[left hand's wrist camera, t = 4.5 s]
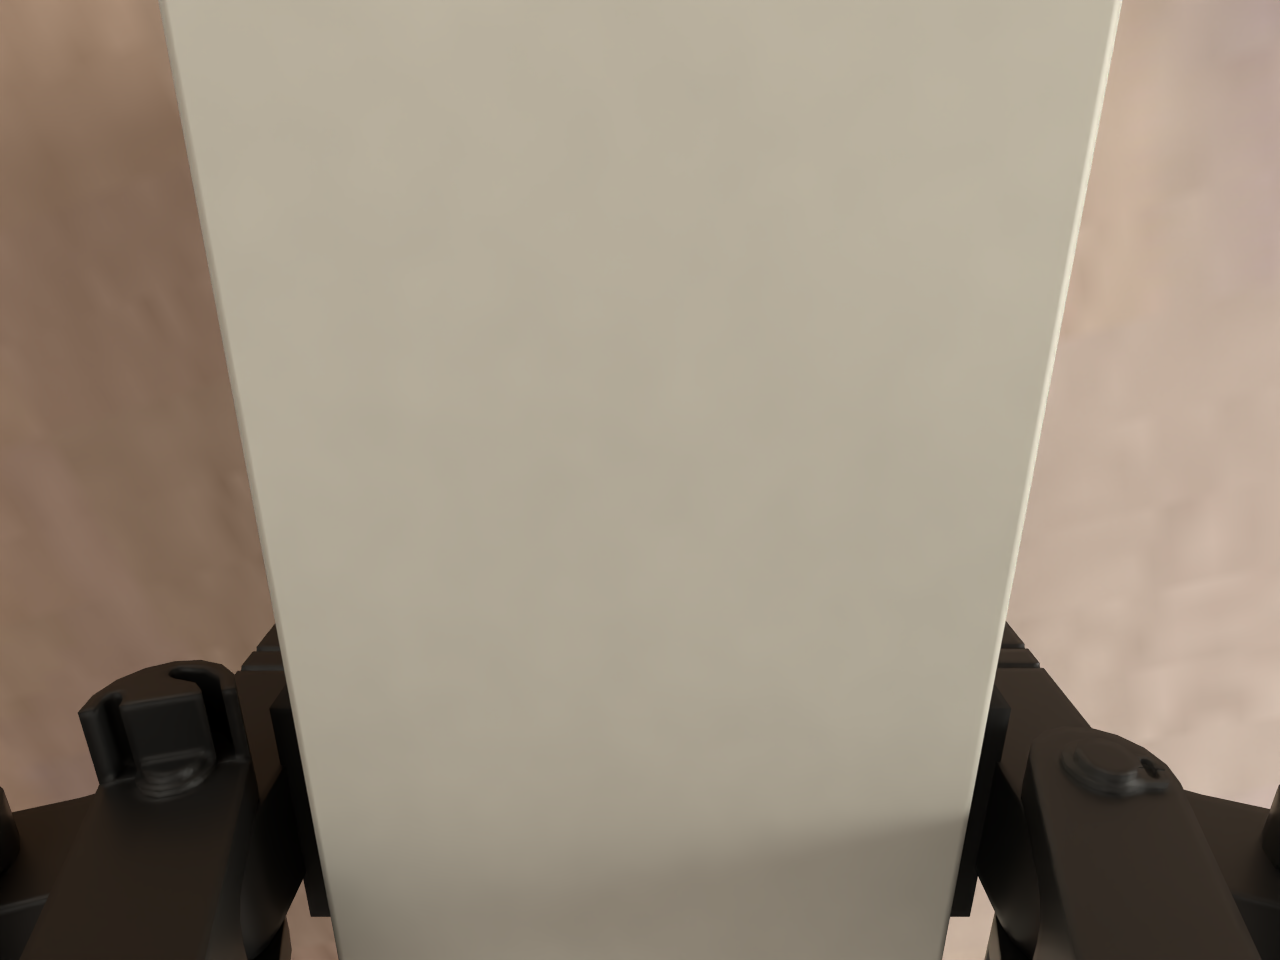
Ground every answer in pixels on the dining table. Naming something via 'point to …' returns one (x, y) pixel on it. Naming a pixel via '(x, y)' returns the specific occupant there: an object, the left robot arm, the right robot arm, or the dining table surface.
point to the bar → (640, 443)
